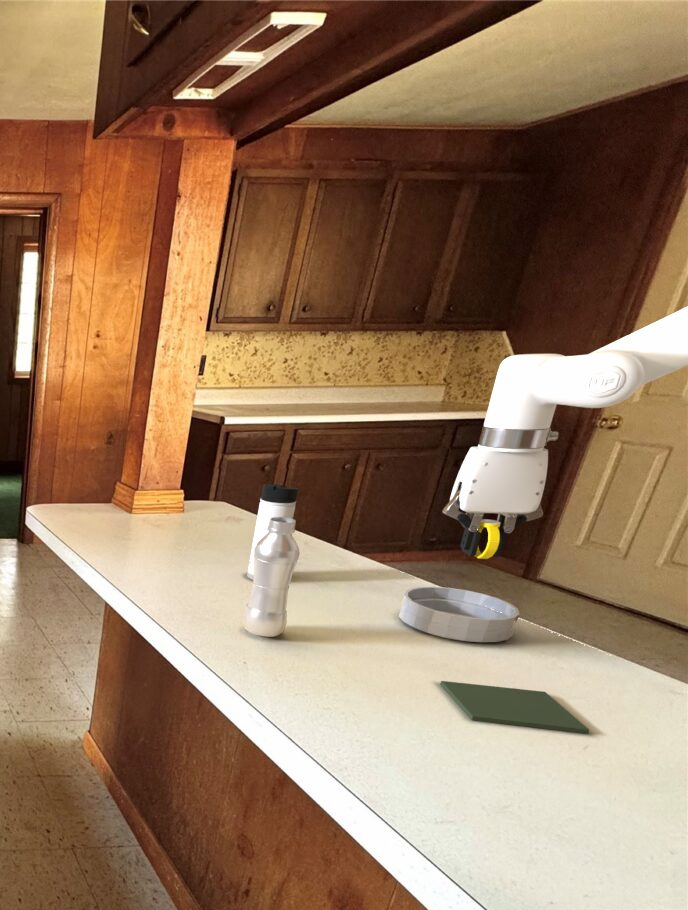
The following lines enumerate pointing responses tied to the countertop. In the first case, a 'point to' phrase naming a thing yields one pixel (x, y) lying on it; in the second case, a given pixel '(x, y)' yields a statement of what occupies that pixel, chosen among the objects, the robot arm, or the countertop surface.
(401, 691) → the countertop surface
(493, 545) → the watch
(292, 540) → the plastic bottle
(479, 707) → the mat
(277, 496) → the travel mug
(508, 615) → the basin
